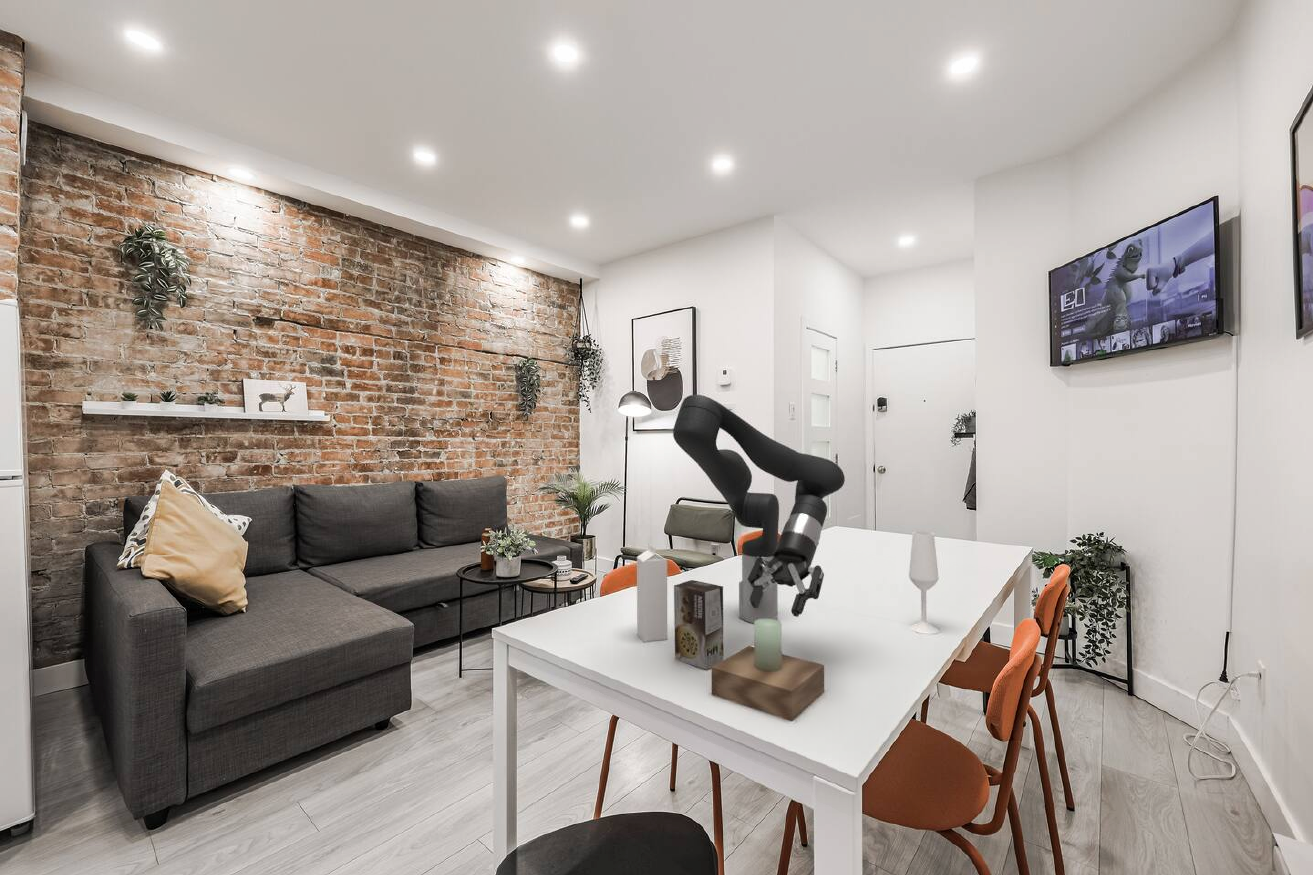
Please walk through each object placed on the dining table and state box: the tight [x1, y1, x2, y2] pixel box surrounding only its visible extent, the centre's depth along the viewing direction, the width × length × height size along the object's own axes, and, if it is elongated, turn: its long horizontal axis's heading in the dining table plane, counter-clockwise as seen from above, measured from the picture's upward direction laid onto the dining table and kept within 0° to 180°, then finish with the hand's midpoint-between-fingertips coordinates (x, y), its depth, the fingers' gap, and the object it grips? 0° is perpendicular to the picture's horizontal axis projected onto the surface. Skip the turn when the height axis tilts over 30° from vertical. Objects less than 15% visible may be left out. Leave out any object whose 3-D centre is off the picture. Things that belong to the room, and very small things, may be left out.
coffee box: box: [673, 579, 725, 670], centre depth 120 cm, size 9×6×16 cm
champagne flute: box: [908, 530, 940, 635], centre depth 140 cm, size 7×7×24 cm
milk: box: [636, 543, 668, 643], centre depth 135 cm, size 6×6×22 cm
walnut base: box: [711, 645, 825, 722], centre depth 104 cm, size 16×14×5 cm
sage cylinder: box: [753, 619, 783, 671], centre depth 105 cm, size 5×5×8 cm
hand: (773, 610), depth 107 cm, fingers open, 8 cm apart
